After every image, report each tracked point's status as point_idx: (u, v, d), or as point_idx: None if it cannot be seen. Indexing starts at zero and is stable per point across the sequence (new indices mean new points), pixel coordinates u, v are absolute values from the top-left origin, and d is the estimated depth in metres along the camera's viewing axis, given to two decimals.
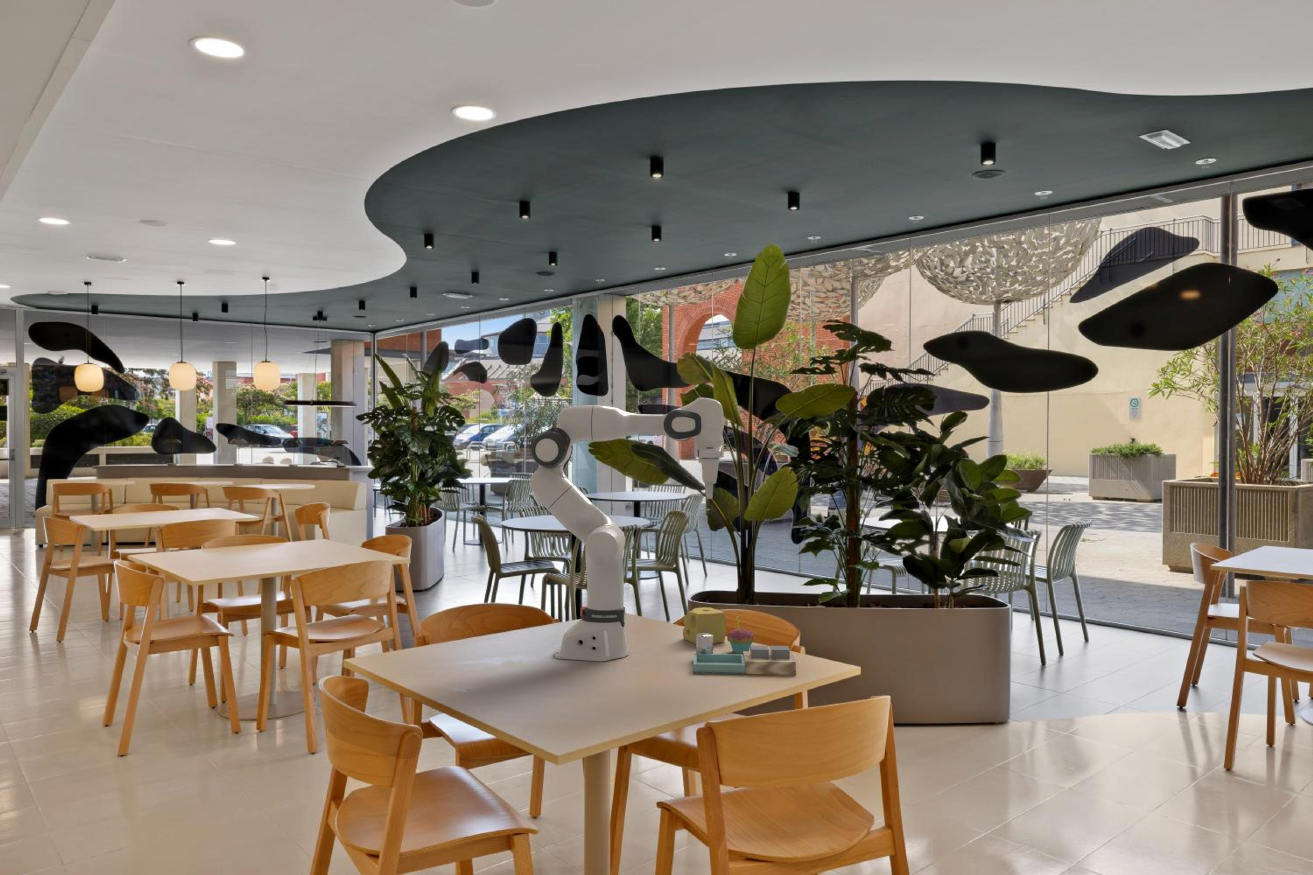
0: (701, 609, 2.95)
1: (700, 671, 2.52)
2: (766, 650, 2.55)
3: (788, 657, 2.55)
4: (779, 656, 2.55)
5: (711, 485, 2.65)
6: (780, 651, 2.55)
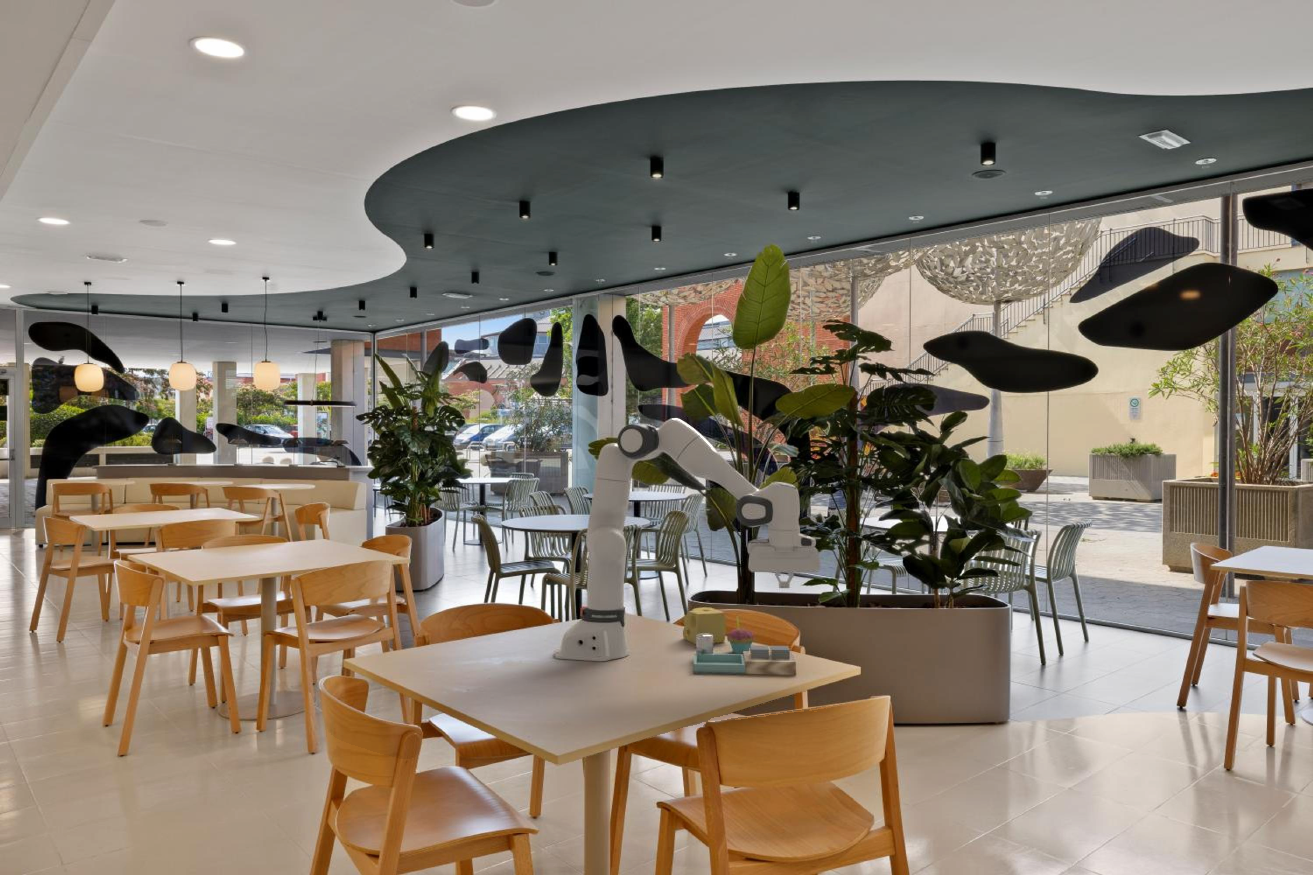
0: (701, 609, 2.95)
1: (700, 671, 2.52)
2: (766, 650, 2.55)
3: (788, 657, 2.55)
4: (779, 656, 2.55)
5: None
6: (780, 651, 2.55)
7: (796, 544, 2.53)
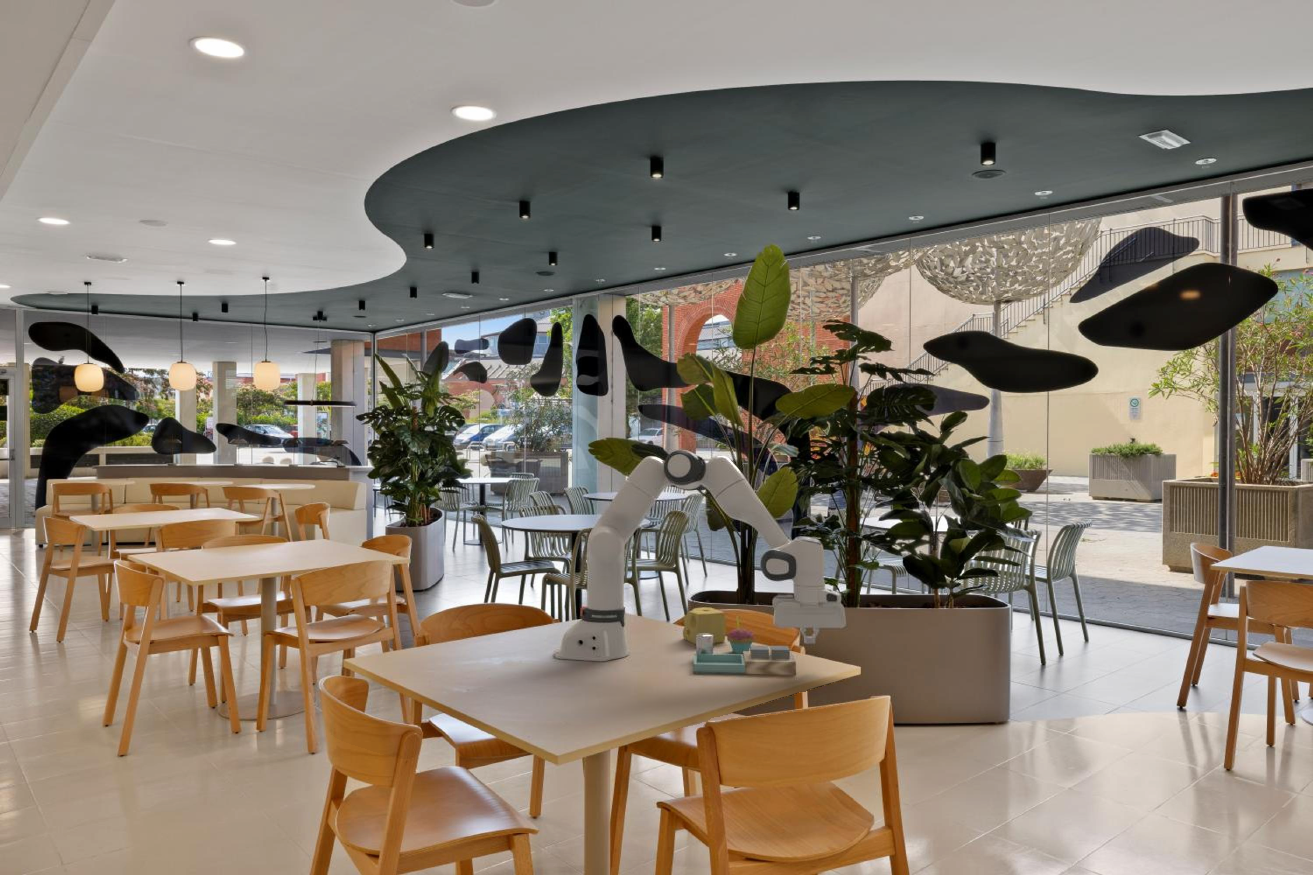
0: (701, 609, 2.95)
1: (700, 671, 2.52)
2: (766, 650, 2.55)
3: (788, 657, 2.55)
4: (779, 656, 2.55)
5: None
6: (780, 651, 2.55)
7: (822, 600, 2.53)
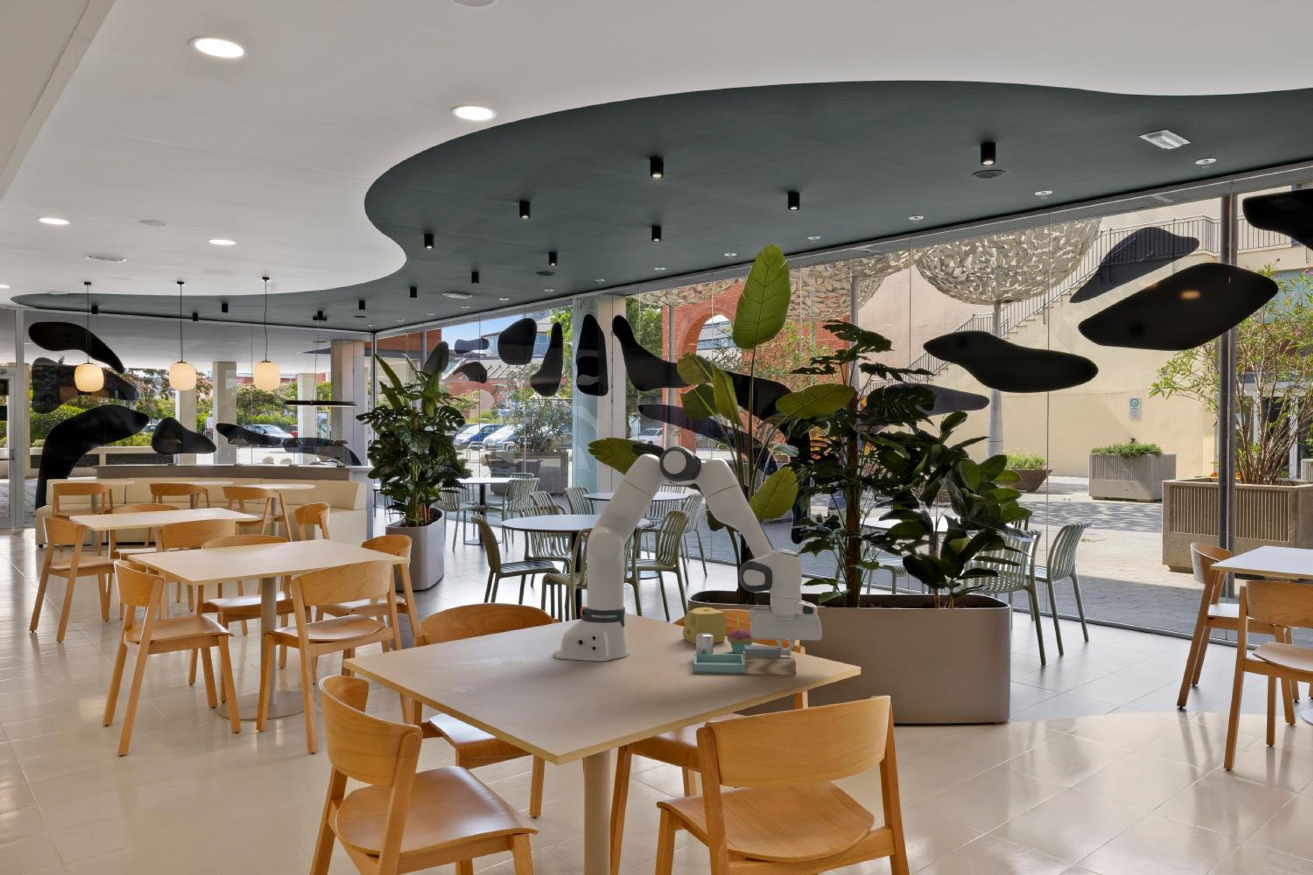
0: (701, 609, 2.95)
1: (700, 671, 2.52)
2: (760, 650, 2.55)
3: (779, 657, 2.55)
4: (770, 656, 2.55)
5: None
6: (771, 651, 2.55)
7: (798, 612, 2.53)
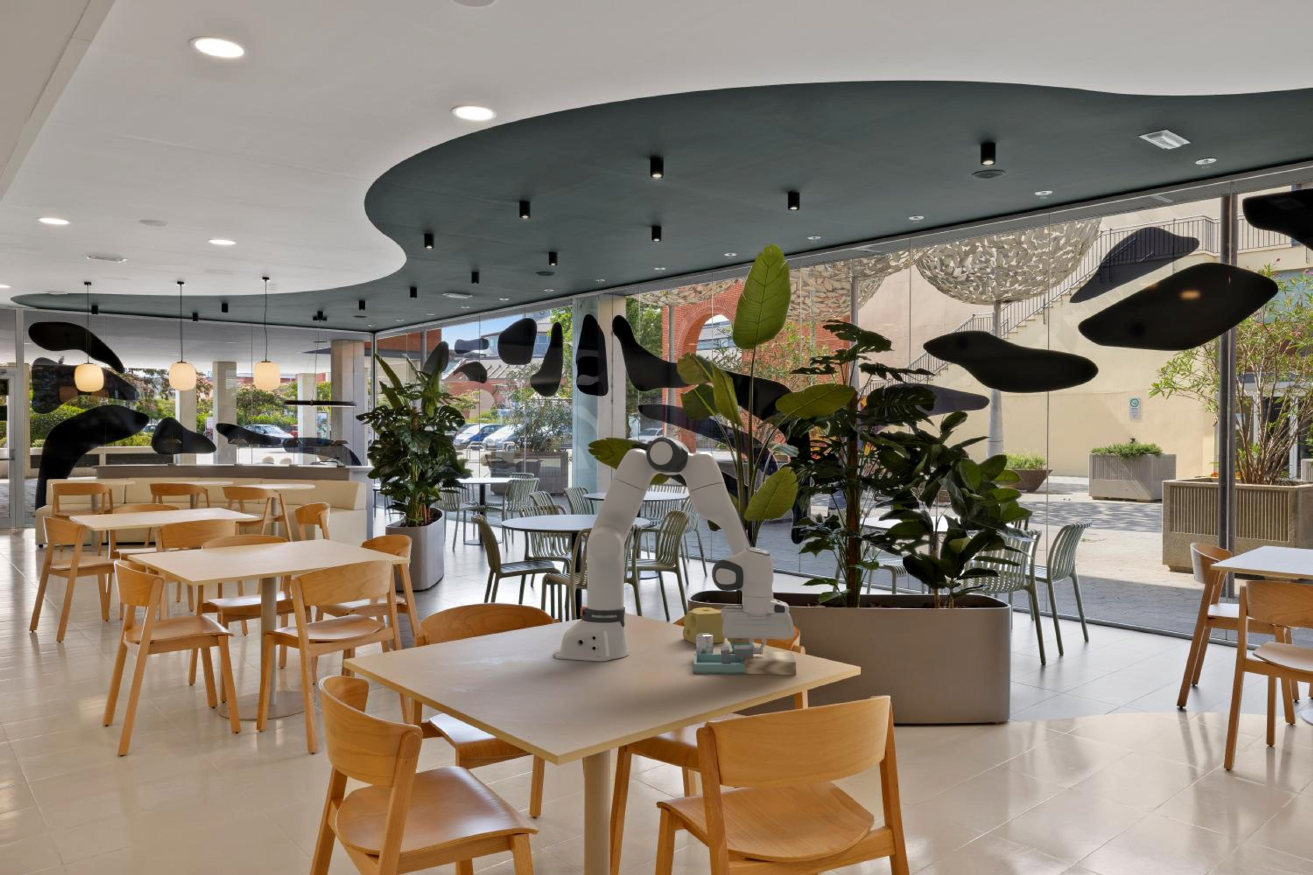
0: (701, 609, 2.95)
1: (700, 671, 2.52)
2: (721, 652, 2.56)
3: (751, 656, 2.55)
4: (742, 656, 2.55)
5: None
6: (743, 650, 2.55)
7: (769, 611, 2.54)
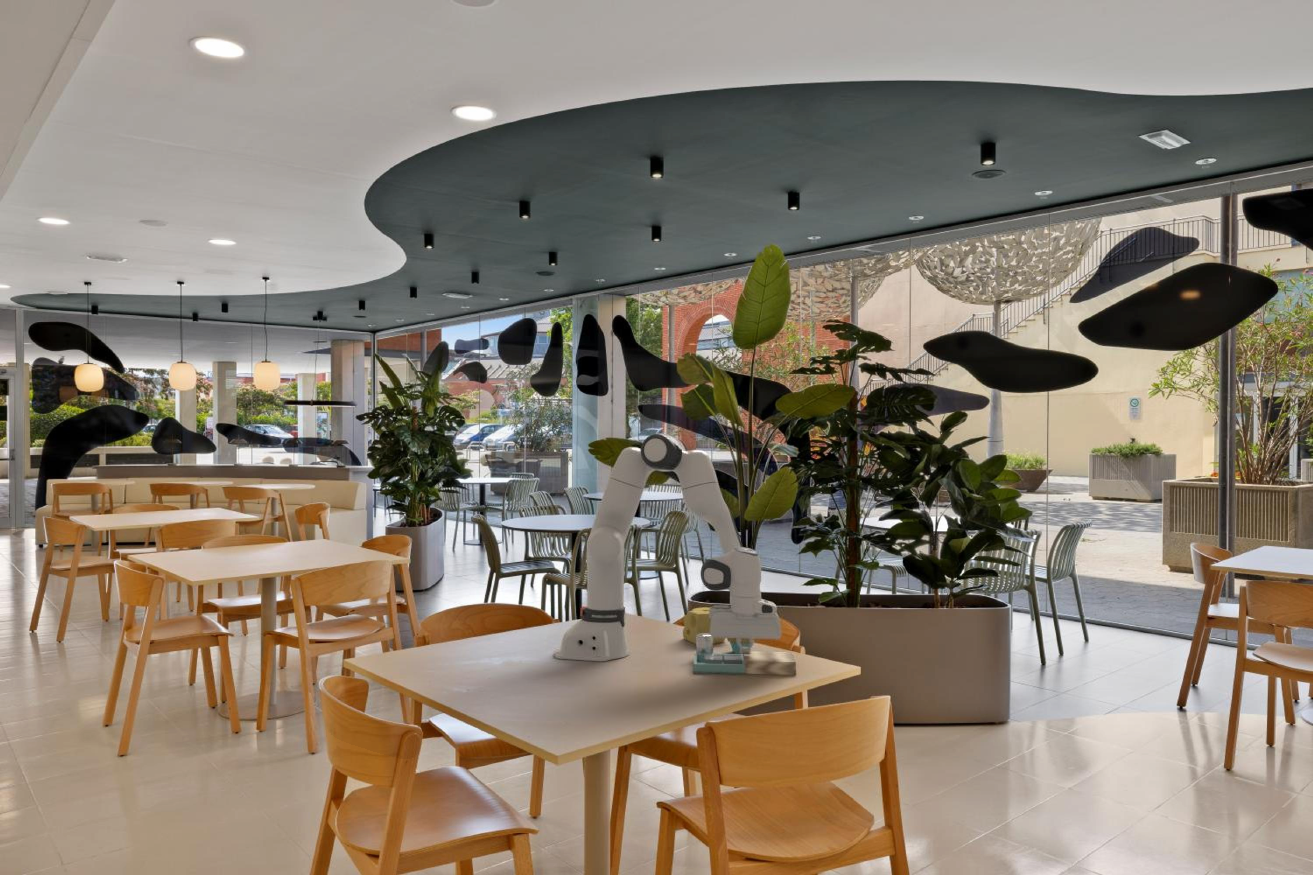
0: (701, 609, 2.95)
1: (700, 671, 2.52)
2: None
3: None
4: None
5: None
6: (732, 661, 2.55)
7: (757, 611, 2.54)
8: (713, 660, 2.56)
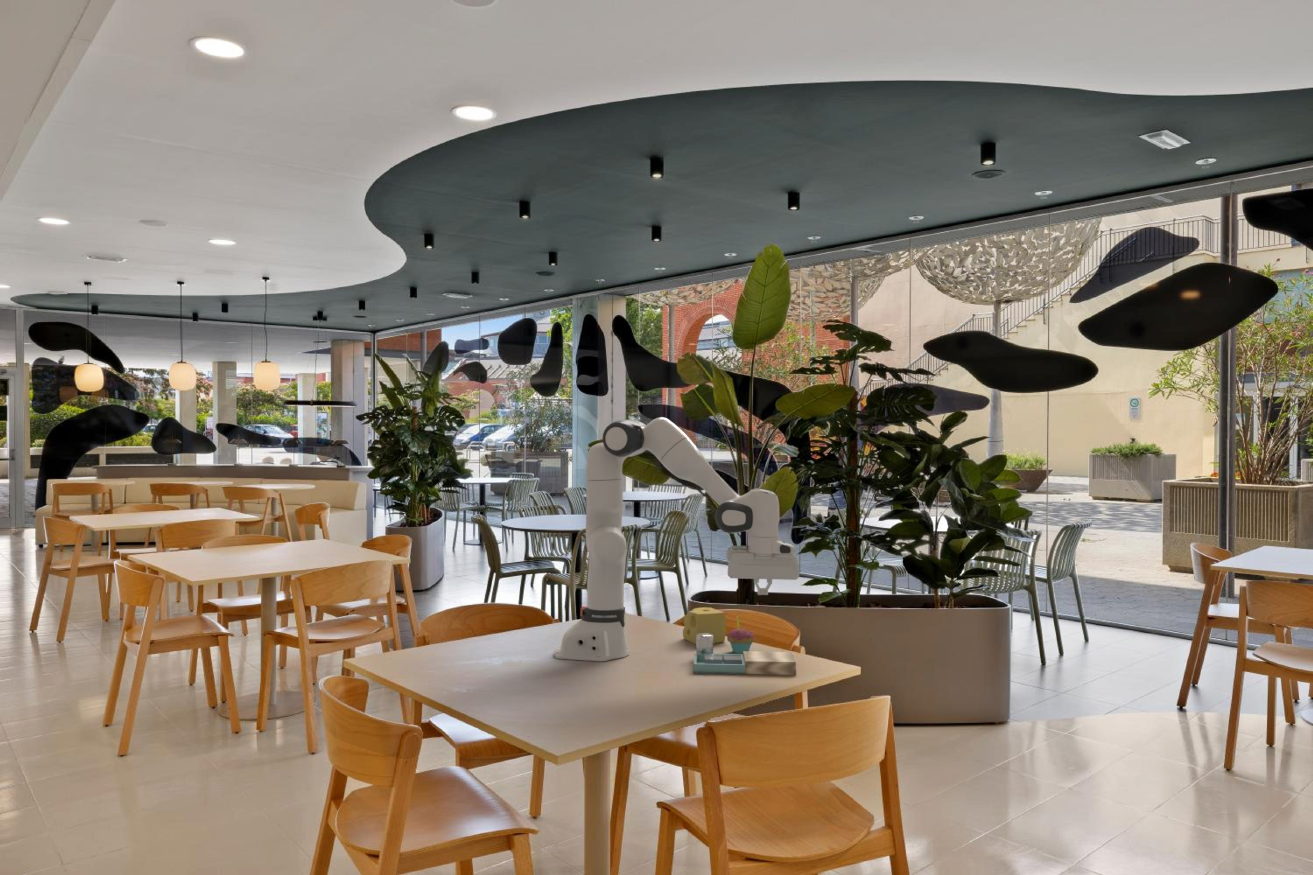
0: (701, 609, 2.95)
1: (700, 671, 2.52)
2: None
3: None
4: None
5: None
6: (732, 661, 2.55)
7: (775, 551, 2.54)
8: (713, 660, 2.56)
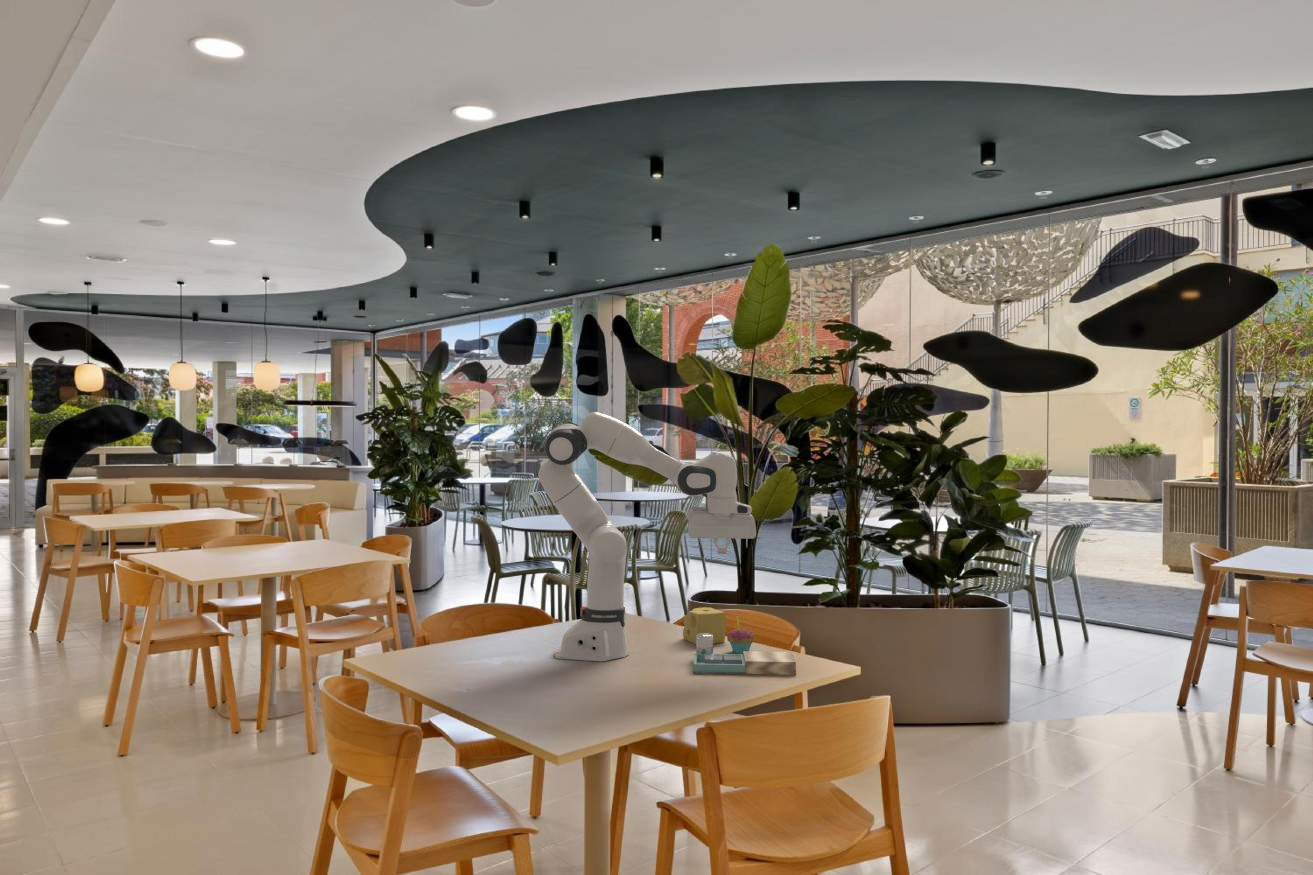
0: (701, 609, 2.95)
1: (700, 671, 2.52)
2: None
3: None
4: None
5: None
6: (732, 661, 2.55)
7: (733, 511, 2.66)
8: (713, 660, 2.56)
